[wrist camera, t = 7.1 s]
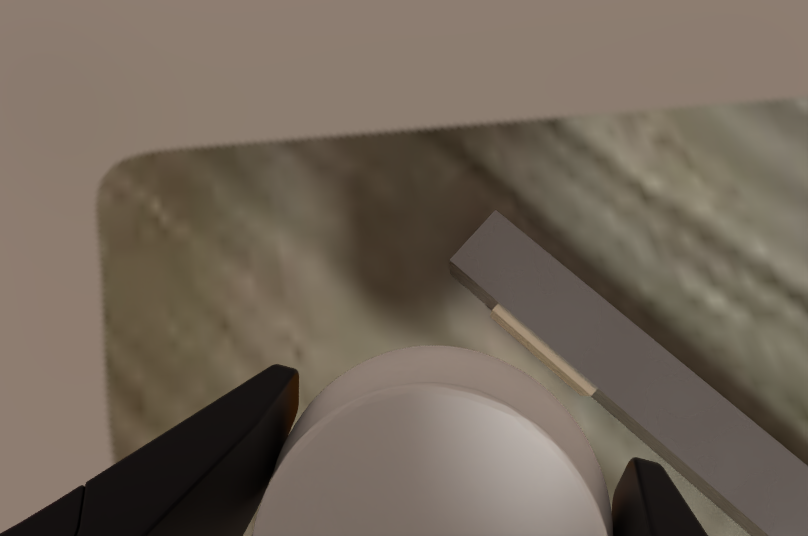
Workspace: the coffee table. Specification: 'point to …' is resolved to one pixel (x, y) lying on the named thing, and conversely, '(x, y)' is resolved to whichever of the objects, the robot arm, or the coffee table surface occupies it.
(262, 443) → the robot arm
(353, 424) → the supplement bottle
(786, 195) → the coffee table surface
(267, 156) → the coffee table surface
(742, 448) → the price rail
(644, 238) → the coffee table surface
